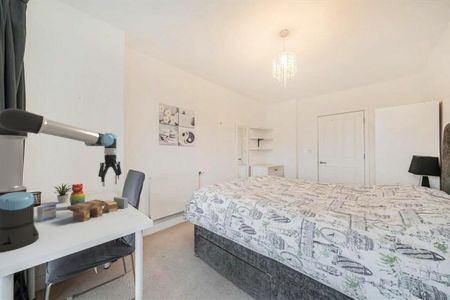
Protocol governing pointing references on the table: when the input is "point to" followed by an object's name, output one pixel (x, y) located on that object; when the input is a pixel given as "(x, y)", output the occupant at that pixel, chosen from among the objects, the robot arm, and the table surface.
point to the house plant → (62, 193)
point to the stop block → (121, 202)
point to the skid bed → (87, 214)
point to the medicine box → (46, 212)
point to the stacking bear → (77, 195)
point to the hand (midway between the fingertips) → (110, 185)
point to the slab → (86, 206)
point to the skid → (110, 206)
